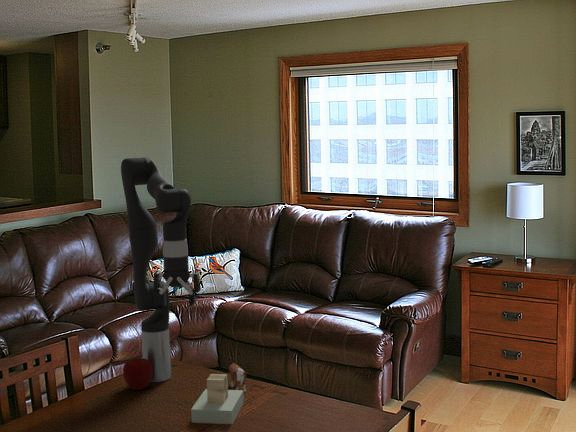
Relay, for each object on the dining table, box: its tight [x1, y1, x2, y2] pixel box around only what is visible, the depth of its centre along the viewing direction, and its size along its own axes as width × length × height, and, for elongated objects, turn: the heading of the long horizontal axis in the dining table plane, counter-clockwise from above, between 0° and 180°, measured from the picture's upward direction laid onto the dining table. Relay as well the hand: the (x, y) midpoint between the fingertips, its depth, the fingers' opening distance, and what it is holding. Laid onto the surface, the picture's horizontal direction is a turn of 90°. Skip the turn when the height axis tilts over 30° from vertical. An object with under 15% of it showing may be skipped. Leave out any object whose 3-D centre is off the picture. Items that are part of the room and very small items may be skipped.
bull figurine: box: [228, 362, 248, 393], centre depth 238 cm, size 4×13×8 cm, turn 15°
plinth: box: [190, 388, 245, 425], centre depth 220 cm, size 16×12×4 cm
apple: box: [122, 357, 153, 391], centre depth 240 cm, size 10×10×10 cm
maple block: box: [206, 373, 229, 403], centre depth 219 cm, size 5×5×7 cm
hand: (177, 305), depth 227 cm, fingers open, 8 cm apart
